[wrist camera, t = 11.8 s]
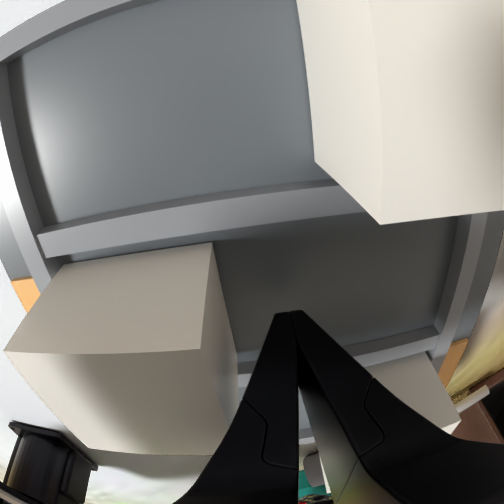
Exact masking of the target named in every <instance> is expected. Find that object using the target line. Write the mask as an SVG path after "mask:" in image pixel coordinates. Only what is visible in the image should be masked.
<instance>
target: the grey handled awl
mask: <svg viewBox="0 0 504 504" xmlns="http://www.w3.org/2000/svg"><path fill="white" fill-rule="evenodd" d="M488 394H489V389H488V387H487V386H486V385H484V386H483V387H481V388H480V389H478V390H477V391H475V392H474V393H472V394H471V395H469V396H467V397H466V398H464V399H463V400H461V401H459V402H458V403H456V404H454V406H455V408H456V410H457V412H458V414H459V413H460V412H462V411H464V410H465V409H467V408H468V407H470V406H472V405H473V404H475V403H476V402H478V401H479V400H481V399H482V398H484V397H485V396H487V395H488ZM303 465H304V471H305V475H306V477H307V480H308V482H309V483H310V485H311V486H312V487H316V486H320V485H323V484H325V481H324V476H323V471H322V466H321V461H320V456H319V453H316V454H313V455H310V456H307V457H305V458H304V461H303Z"/></svg>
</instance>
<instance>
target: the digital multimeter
mask: <svg viewBox="0 0 504 504" xmlns="http://www.w3.org/2000/svg"><path fill="white" fill-rule="evenodd" d="M298 504H334V501H333V498H332V495H331V493H327V492H326V486H325V484H323V485H320V486H316V487H312V486H311V485H310V483H309V482H308V480H307V477H306V475H305V471H304V470H302V471H299V503H298Z"/></svg>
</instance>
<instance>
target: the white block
mask: <svg viewBox="0 0 504 504" xmlns="http://www.w3.org/2000/svg"><path fill="white" fill-rule="evenodd" d="M364 368H365V369H366V370H367V371H368V372H369V373H370V374H371V375H372V376H373V378H376V379H377V380H378V381H379V382H380V383H381V384H382V385H383V386H384V387H386V388H387V389H388V390H389V391H390V392H391V393H393V394H394V395H395V396H396V397H397V398H399V399H400V400H401V401H403V402H404V403H405V404H407V405H408V406H409V407H411V408H412V409H413V410H415V411H416V412H418V413H419V414H421V415H422V416H423V417H425V418H426V419H428V420H429V421H431V422H432V423H433V424H435V425H436V426H438V427H439V428H441V429H442V430H444V431H445V432H447V433H449V434H451V433H452V432H453V431H454V429H455V428H456V427H457V425H458V424H459V423H460V421H461V418H460V416H459V414H458V412H457V410H456V408H455V406H454V404H453V402H452V400H451V398H450V396H449V394H448V393H447V391H446V389H445V387H444V385H443V383H442V381H441V380H440V378H439V376H438V374H437V372H436V371H435V369H434V367H433V365H432V363H431V362H430V360H429V358H428V356H427V355H426V353H425V351H423V352H420V353H417V354H413V355H410V356H406V357H402V358H399V359H395V360H391V361H387V362H383V363H379V364H375V365H371V366H367V367H364ZM319 456H320V455H319ZM320 461H321V458H320ZM321 466H322V471H323V476H324V481H325V486H326V492H327V493H331V491H330V488H329V485H328V481H327V478H326V475H325V472H324V468H323V465H322V462H321Z"/></svg>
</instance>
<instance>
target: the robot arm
mask: <svg viewBox="0 0 504 504" xmlns="http://www.w3.org/2000/svg"><path fill="white" fill-rule="evenodd" d="M298 387H299V389H298ZM299 390H300V393H301V397H302V400H303V403H304V406H305V410H306V413H307V416H308V419H309V423H310V426H311V429H312V432H313V436H314V439H315V442H316V445H317V449H318V452H319V455H320V458H321V462H322V465H323V468H324V472H325V475H326V478H327V481H328V485H329V488H330V491H331V495H332V498H333V501H334V504H504V444H502V443H491V442H481V441H472V440H465V439H461V438H458V437H455V436H453V435H451V434H449V433H447V432H445V431H444V430H442V429H441V428H439V427H438V426H436V425H435V424H433V423H432V422H431V421H429V420H428V419H426V418H425V417H423V416H422V415H421V414H419V413H418V412H416V411H415V410H413V409H412V408H411V407H409V406H408V405H407V404H405V403H404V402H403V401H401V400H400V399H399V398H397V397H396V396H395V395H394V394H393V393H391V392H390V391H389V390H388V389H387V388H386V387H384V386H383V385H382V384H381V383H380V382H379V381H378V380H377V379H376V378H373V376H372V375H371V374H370V373H369V372H368V371H367V370H366V369H365V368H364V367H363V366H362V365H361V364H360V363H359V362H358V361H356V360H355V359H354V358H353V357H352V356H351V355H350V354H349V353H348V352H347V351H346V350H345V349H344V348H343V347H341V346H340V345H339V344H338V343H337V342H336V341H335V340H334V339H333V338H332V337H331V336H330V335H329V334H328V333H327V332H326V331H324V330H323V329H322V328H321V327H320V326H319V325H318V324H317V323H316V322H315V321H314V320H313V319H312V318H311V317H310V316H309V315H307V314H306V313H305V312H304V311H303V310H301V309H300V310H293V311H289V312H287V311H286V312H279V313H275V314H274V316H273V319H272V322H271V324H270V327H269V330H268V333H267V335H266V338H265V341H264V343H263V346H262V349H261V351H260V354H259V356H258V359H257V362H256V364H255V367H254V369H253V372H252V375H251V377H250V380H249V382H248V385H247V387H246V390H245V392H244V395H243V397H242V400H241V402H240V404H239V407H238V409H237V412H236V414H235V416H234V418H233V421H232V423H231V425H230V427H229V429H228V431H227V432H226V434H225V436H224V438H223V439H222V441H221V443H220V445H219V446H218V448H217V449H216V451H215V453H214V454H213V456H212V457H211V459H210V461H209V462H208V464H207V465H206V467H205V468H204V470H203V471H202V473H201V475H200V476H199V478H198V479H197V480H196V482H195V483H194V485H193V486H192V487H191V488H190V489H189V490H188V492H187V493H186V494H184V495H183V496H182V497H181V498H180V499H178V500H177V501H176V502H174V503H173V504H298V503H299ZM8 426H9V428H10V429H11V430H13V431H14V432H15V433H16V434H17V435H18V438H17V441H16V444H15V447H14V450H13V453H12V455H11V458H10V461H9V465H8V468H7V471H6V474H5V477H4V481H3V483H2V482H1V481H0V492H1V493H2V494H4V495H6V496H8V497H10V498H11V499H13V500H15V501H17V502H19V503H21V504H83V503H84V502H85V497H86V492H87V486H88V482H89V477H90V472H91V470H93V471H97V470H98V466H97V465H96V464H95V463H93V462H92V461H91V460H90V459H89V458H87V457H86V456H85V455H84V454H83V453H82V452H80V451H79V450H78V449H77V448H76V447H75V446H74V445H73V444H71V443H70V442H69V441H68V440H67V439H66V438H65V437H64V436H63V435H61V434H59V433H57V432H52V431H47V430H42V429H38V428H33V427H29V426H25V425H21V424H17V423H13V422H10V423H9V425H8ZM0 504H12V503H10V502H8V501H6V500H4V499H3V498H1V497H0Z"/></svg>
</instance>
